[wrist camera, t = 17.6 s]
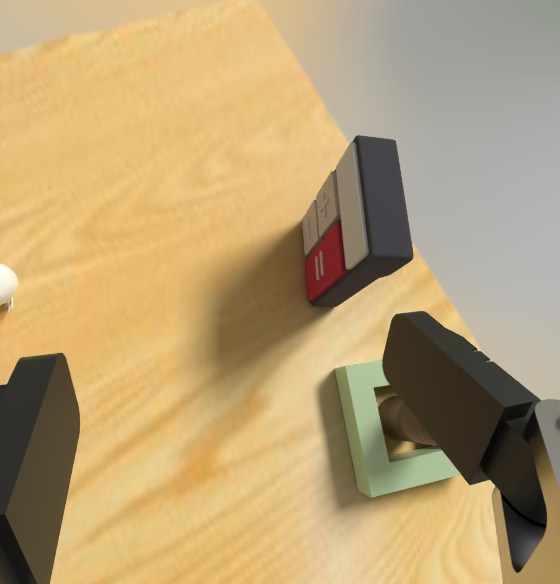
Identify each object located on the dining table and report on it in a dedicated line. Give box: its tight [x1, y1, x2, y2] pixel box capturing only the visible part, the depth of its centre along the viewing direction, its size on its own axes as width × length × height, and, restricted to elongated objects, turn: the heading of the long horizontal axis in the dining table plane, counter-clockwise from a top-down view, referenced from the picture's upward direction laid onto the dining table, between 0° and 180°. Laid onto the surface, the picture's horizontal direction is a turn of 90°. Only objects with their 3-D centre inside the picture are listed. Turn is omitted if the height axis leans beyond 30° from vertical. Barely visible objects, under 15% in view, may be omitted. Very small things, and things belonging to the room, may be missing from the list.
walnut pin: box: [379, 396, 438, 446], centre depth 36 cm, size 4×4×9 cm
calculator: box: [302, 135, 413, 307], centre depth 37 cm, size 11×4×15 cm, turn 3°
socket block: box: [335, 360, 461, 498], centre depth 39 cm, size 12×12×3 cm
